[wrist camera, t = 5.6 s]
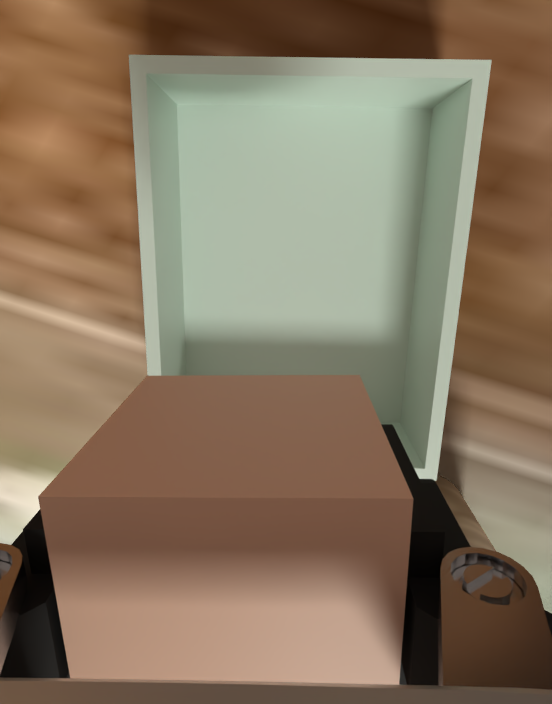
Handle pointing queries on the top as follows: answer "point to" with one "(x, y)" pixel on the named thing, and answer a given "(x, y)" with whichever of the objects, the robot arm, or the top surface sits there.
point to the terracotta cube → (233, 535)
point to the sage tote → (309, 221)
